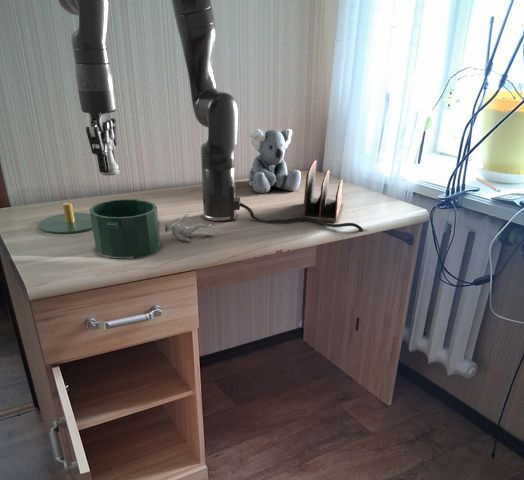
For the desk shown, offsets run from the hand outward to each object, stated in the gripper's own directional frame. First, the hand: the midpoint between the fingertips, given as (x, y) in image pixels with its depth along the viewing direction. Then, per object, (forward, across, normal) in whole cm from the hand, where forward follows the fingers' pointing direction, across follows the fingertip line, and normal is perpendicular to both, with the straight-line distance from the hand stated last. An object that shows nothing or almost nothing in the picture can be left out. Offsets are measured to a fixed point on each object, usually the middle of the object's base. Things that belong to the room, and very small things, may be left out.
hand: (108, 169), depth 118 cm
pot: (+19, 0, -2) cm, 19 cm away
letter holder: (+20, +35, -53) cm, 67 cm away
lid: (+18, +15, +18) cm, 29 cm away
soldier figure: (+19, +9, -16) cm, 27 cm away
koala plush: (+20, +63, -36) cm, 75 cm away
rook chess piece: (+1, 0, 0) cm, 1 cm away
